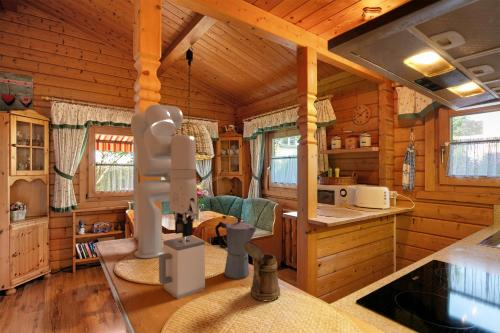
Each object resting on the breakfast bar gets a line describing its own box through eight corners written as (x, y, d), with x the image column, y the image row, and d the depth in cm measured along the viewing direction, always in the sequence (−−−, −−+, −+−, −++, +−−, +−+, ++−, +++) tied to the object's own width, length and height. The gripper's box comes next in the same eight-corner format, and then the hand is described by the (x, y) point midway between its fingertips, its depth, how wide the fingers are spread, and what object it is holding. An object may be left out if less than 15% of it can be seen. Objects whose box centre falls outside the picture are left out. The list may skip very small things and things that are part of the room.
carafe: (154, 291, 86) (154, 242, 85) (189, 280, 94) (189, 235, 94) (168, 302, 79) (167, 249, 79) (205, 289, 87) (204, 241, 87)
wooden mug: (235, 302, 79) (235, 238, 78) (260, 285, 90) (260, 229, 90) (262, 312, 74) (262, 244, 74) (285, 292, 85) (285, 232, 85)
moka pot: (254, 281, 92) (254, 221, 92) (210, 278, 95) (209, 219, 95) (259, 270, 102) (259, 215, 101) (218, 267, 105) (218, 214, 104)
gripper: (160, 174, 90) (160, 231, 91) (186, 176, 78) (186, 242, 78) (181, 174, 95) (181, 227, 96) (208, 175, 83) (209, 237, 83)
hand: (183, 233), depth 87 cm, fingers closed on plunger, 4 cm apart
